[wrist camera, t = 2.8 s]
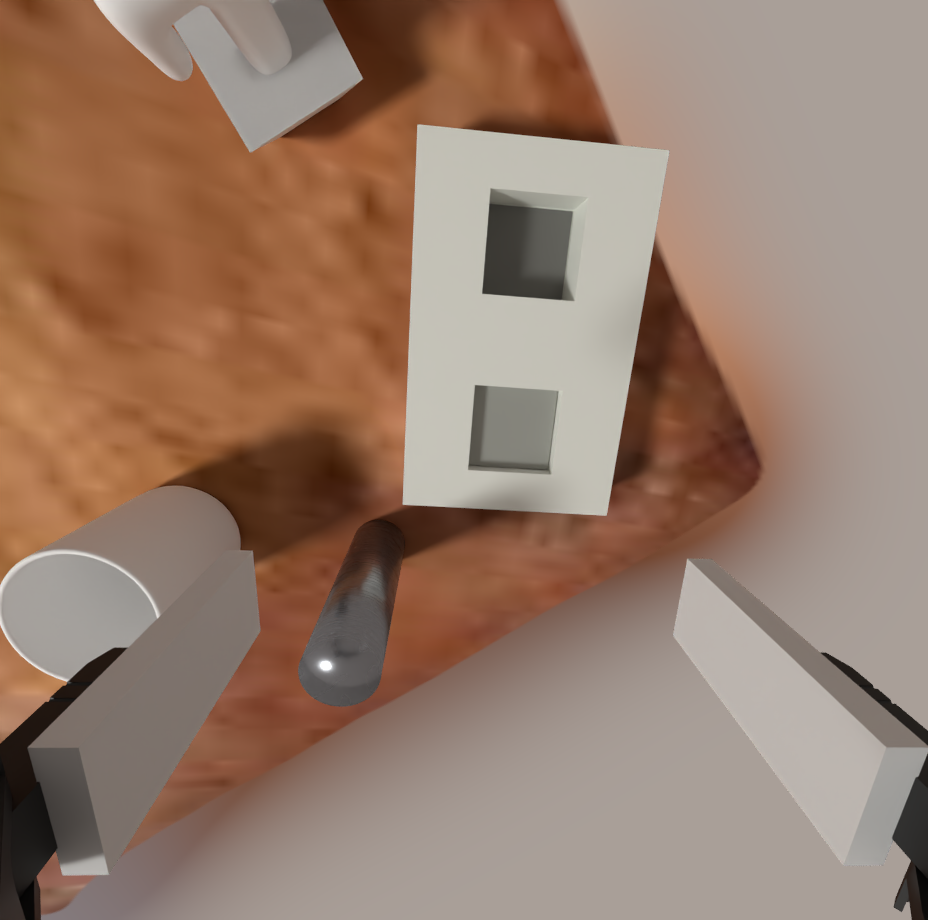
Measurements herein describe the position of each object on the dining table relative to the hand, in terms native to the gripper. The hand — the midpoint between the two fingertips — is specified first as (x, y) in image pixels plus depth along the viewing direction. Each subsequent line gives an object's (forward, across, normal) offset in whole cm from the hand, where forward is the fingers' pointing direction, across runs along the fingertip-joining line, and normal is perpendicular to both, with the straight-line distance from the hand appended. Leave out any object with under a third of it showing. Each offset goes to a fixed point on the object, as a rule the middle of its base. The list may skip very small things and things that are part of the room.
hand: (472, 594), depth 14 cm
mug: (+21, -22, -9) cm, 32 cm away
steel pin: (+21, -6, -9) cm, 23 cm away
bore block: (+21, +4, +7) cm, 22 cm away
